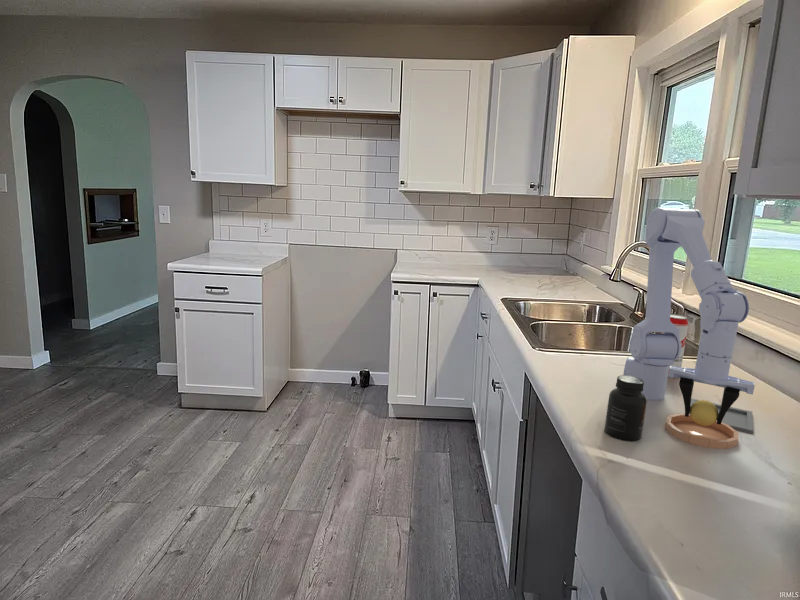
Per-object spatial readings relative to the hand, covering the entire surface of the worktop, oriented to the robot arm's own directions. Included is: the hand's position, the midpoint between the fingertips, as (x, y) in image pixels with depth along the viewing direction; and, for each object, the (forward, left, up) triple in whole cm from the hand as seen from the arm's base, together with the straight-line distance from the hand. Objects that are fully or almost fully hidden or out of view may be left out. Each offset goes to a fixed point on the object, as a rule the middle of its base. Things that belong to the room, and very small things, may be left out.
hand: (702, 418), depth 109 cm
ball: (0, 0, -1) cm, 1 cm away
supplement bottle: (-13, -10, -4) cm, 17 cm away
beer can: (-10, +40, -4) cm, 41 cm away
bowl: (0, 0, -4) cm, 4 cm away
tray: (+3, +13, -4) cm, 14 cm away
